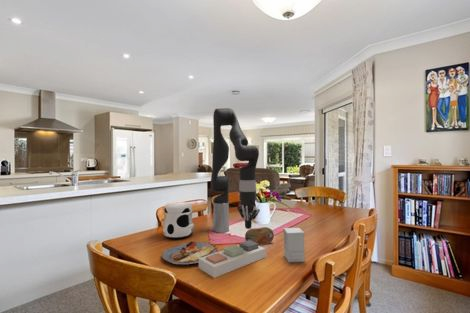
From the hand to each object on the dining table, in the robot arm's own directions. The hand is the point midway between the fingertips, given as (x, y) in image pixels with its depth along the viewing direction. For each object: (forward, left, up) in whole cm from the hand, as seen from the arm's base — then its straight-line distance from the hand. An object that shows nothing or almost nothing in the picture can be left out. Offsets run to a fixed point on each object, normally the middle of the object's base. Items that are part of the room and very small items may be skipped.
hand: (248, 228), depth 112 cm
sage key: (0, -9, -10) cm, 13 cm away
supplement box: (+15, +13, -13) cm, 24 cm away
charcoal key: (0, 0, -10) cm, 10 cm away
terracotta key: (0, -18, -11) cm, 21 cm away
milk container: (-49, -9, -13) cm, 51 cm away
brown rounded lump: (-8, +15, -13) cm, 22 cm away
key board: (0, -9, -13) cm, 16 cm away
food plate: (-19, -19, -13) cm, 30 cm away
